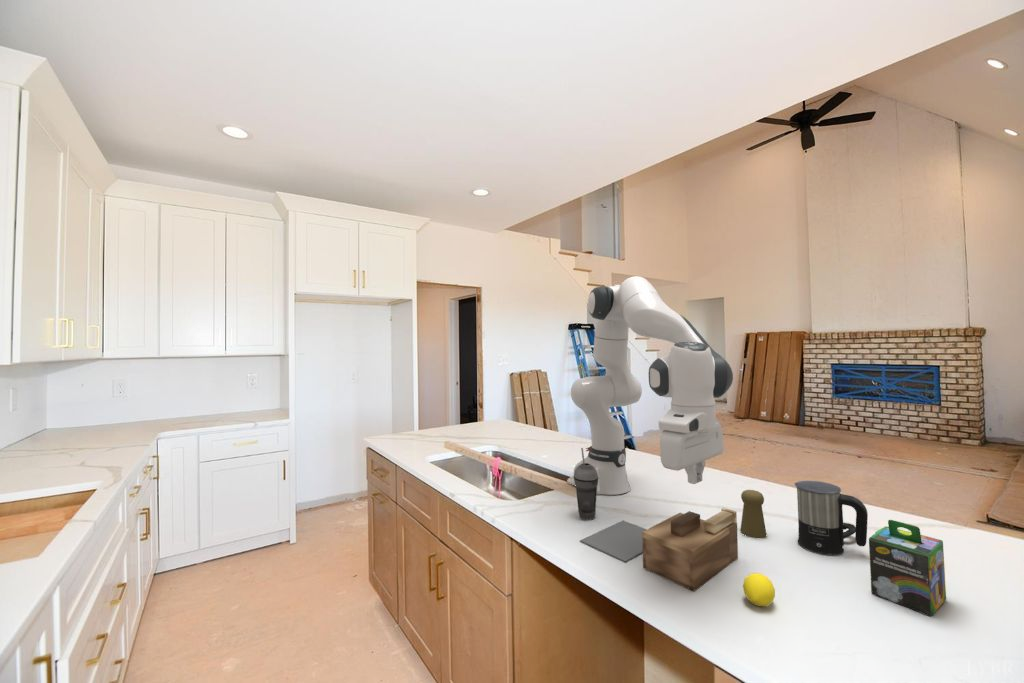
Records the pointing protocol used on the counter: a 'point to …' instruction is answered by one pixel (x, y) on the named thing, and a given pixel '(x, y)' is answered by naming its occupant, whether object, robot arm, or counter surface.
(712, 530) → the light wooden bar
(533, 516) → the counter surface
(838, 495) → the milk frother
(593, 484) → the beverage cup
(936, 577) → the chalk box
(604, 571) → the counter surface
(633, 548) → the mat
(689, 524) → the lid
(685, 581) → the brown wooden box
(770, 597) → the lemon
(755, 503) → the olive chess pawn
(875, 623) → the counter surface
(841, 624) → the counter surface
